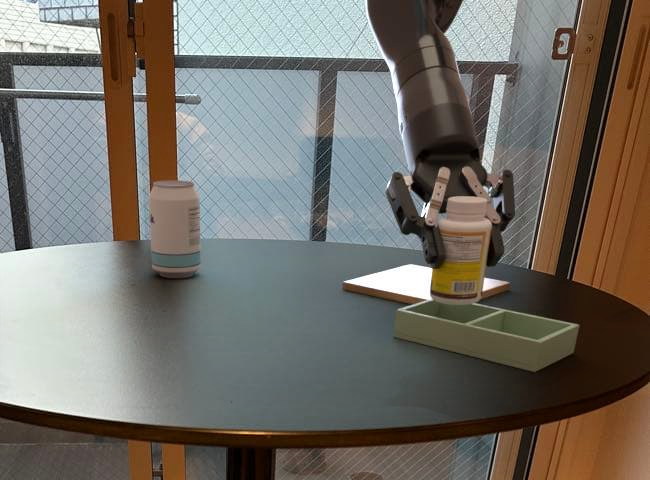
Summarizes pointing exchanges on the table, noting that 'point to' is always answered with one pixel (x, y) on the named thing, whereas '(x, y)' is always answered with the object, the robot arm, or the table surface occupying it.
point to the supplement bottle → (462, 252)
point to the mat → (409, 284)
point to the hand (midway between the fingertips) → (467, 263)
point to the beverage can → (175, 228)
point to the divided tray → (487, 333)
